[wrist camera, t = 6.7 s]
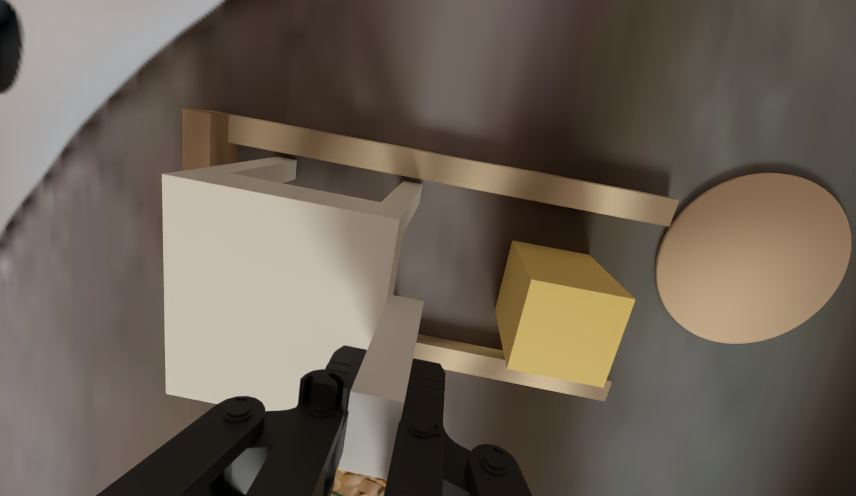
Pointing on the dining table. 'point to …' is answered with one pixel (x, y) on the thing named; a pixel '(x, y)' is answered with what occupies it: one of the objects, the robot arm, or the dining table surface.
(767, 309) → the mat
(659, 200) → the track
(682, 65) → the dining table surface
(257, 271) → the cover
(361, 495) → the green toy figure
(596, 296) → the block
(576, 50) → the dining table surface
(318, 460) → the robot arm
